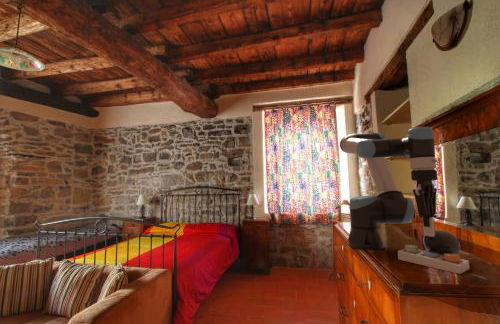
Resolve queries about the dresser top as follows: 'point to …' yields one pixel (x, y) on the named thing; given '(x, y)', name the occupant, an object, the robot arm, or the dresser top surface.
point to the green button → (411, 249)
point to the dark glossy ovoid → (442, 242)
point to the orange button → (452, 258)
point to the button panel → (433, 261)
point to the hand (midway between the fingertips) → (429, 235)
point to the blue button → (430, 254)
